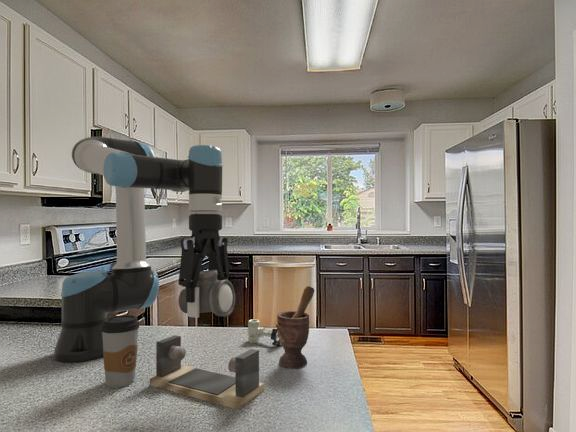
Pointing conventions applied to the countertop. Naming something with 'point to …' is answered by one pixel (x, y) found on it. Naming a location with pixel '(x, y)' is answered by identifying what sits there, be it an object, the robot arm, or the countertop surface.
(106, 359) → the coffee cup
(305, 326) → the mortar and pestle
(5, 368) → the countertop surface
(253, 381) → the shaft bed
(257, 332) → the valve
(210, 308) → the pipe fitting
